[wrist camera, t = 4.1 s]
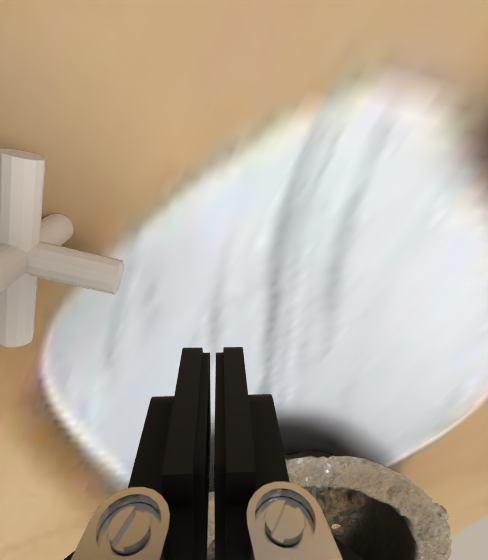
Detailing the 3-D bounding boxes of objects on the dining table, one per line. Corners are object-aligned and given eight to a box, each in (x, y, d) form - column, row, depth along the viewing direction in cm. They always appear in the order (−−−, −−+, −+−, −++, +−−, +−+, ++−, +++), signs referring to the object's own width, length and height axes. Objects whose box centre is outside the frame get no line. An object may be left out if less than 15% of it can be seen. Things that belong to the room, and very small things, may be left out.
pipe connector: (152, 171, 21) (102, 207, 12) (126, 311, 25) (74, 419, 16) (-28, 120, 20) (-239, 119, 11) (-27, 279, 24) (-182, 378, 14)
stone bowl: (213, 599, 40) (207, 722, 32) (124, 434, 32) (83, 539, 23) (430, 550, 39) (487, 667, 30) (394, 361, 30) (459, 446, 22)
